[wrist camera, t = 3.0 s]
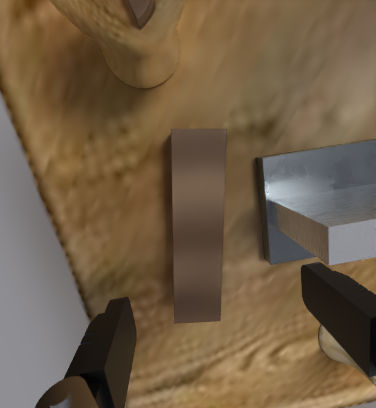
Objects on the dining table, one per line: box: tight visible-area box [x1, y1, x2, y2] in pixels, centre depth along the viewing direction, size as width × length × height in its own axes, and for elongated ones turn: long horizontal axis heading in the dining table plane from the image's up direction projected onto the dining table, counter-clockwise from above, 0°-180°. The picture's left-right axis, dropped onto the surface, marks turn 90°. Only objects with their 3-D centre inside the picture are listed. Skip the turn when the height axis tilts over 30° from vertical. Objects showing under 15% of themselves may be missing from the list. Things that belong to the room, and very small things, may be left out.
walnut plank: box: [171, 129, 227, 323], centre depth 20 cm, size 16×4×4 cm, turn 0°
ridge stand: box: [256, 139, 376, 265], centre depth 18 cm, size 10×11×9 cm
